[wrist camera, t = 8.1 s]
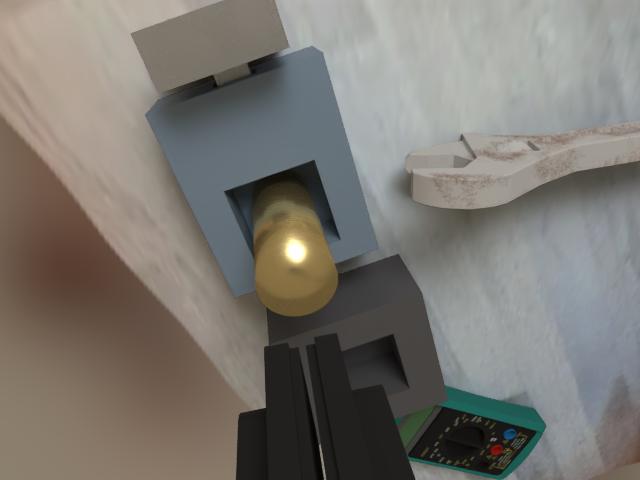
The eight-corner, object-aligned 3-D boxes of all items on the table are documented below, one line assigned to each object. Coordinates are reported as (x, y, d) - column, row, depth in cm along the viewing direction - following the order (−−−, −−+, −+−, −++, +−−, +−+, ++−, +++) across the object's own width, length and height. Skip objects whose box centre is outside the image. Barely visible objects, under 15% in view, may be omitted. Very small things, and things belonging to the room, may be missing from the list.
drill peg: (317, 212, 30) (347, 301, 21) (264, 231, 30) (272, 326, 21) (299, 161, 28) (324, 233, 19) (243, 181, 28) (242, 262, 19)
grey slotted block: (424, 354, 38) (448, 400, 34) (308, 394, 38) (317, 445, 34) (398, 254, 33) (421, 292, 29) (265, 299, 33) (269, 344, 29)
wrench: (740, 114, 36) (374, 170, 30) (748, 90, 35) (374, 142, 29) (873, 140, 29) (432, 219, 23) (888, 110, 28) (434, 185, 22)
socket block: (363, 221, 32) (378, 248, 28) (236, 265, 32) (235, 298, 28) (312, 45, 26) (322, 52, 23) (158, 99, 26) (145, 115, 23)
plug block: (314, 145, 28) (330, 178, 23) (221, 177, 28) (216, 218, 23) (264, -12, 24) (269, -16, 19) (155, 26, 24) (130, 33, 19)
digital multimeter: (493, 460, 46) (508, 488, 44) (357, 429, 42) (366, 459, 39) (538, 405, 44) (558, 432, 41) (399, 366, 39) (411, 393, 36)
